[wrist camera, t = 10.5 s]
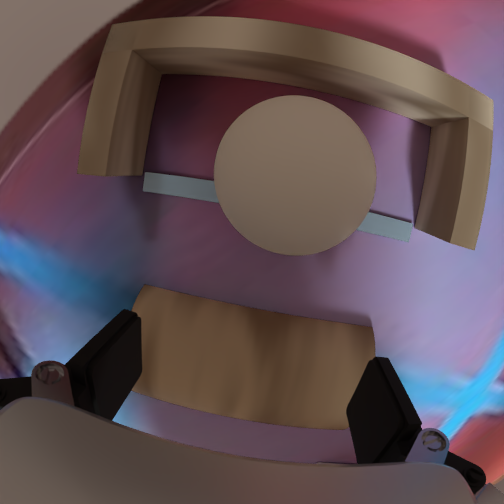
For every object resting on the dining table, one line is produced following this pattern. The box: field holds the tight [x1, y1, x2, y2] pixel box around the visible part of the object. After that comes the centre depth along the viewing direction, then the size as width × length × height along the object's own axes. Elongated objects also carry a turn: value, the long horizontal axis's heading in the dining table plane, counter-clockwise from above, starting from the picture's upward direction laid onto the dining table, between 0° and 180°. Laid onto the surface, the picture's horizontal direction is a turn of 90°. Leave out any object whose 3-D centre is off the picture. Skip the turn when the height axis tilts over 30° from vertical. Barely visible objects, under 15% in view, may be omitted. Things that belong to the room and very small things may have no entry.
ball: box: [214, 95, 376, 256], centre depth 10 cm, size 6×6×6 cm
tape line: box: [143, 172, 413, 242], centre depth 14 cm, size 14×1×1 cm, turn 80°
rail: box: [77, 16, 493, 250], centre depth 11 cm, size 18×7×4 cm, turn 80°
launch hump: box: [131, 284, 375, 430], centre depth 17 cm, size 13×8×8 cm, turn 80°
